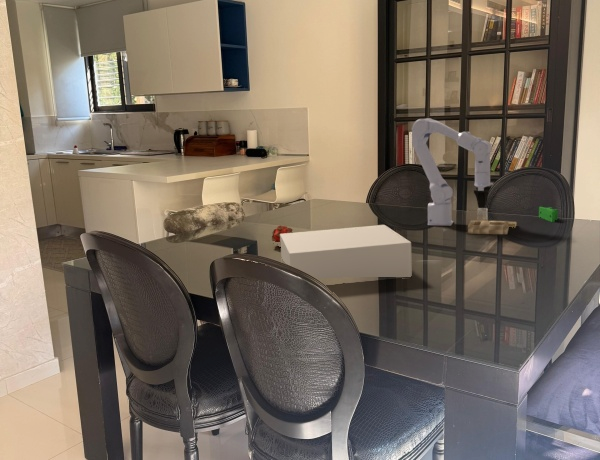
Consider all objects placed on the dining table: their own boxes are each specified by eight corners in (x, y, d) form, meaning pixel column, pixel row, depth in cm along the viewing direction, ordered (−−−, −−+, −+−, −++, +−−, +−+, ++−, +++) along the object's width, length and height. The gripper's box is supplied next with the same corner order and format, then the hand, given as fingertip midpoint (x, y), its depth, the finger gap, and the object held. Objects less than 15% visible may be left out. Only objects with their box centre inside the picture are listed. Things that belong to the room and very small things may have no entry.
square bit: (477, 227, 224) (477, 209, 223) (478, 225, 228) (478, 208, 226) (486, 227, 223) (486, 209, 222) (487, 225, 226) (487, 208, 225)
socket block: (467, 233, 214) (467, 225, 214) (470, 227, 223) (470, 220, 223) (507, 234, 209) (507, 226, 208) (508, 228, 218) (508, 221, 217)
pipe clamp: (561, 222, 225) (561, 210, 224) (552, 222, 225) (552, 211, 224) (547, 216, 236) (547, 205, 235) (538, 217, 236) (539, 206, 235)
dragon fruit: (283, 246, 219) (288, 258, 207) (265, 236, 216) (268, 247, 205) (295, 228, 217) (300, 239, 206) (277, 217, 214) (281, 228, 203)
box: (282, 266, 186) (279, 233, 184) (385, 256, 190) (384, 224, 188) (292, 290, 160) (289, 253, 157) (411, 278, 164) (411, 242, 161)
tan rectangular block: (499, 228, 221) (499, 223, 221) (500, 226, 225) (500, 221, 224) (515, 228, 219) (515, 223, 218) (516, 226, 222) (516, 221, 222)
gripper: (491, 174, 213) (491, 209, 216) (494, 169, 226) (494, 203, 229) (472, 174, 216) (472, 209, 218) (476, 170, 229) (476, 203, 231)
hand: (482, 206), depth 224 cm, fingers open, 7 cm apart
